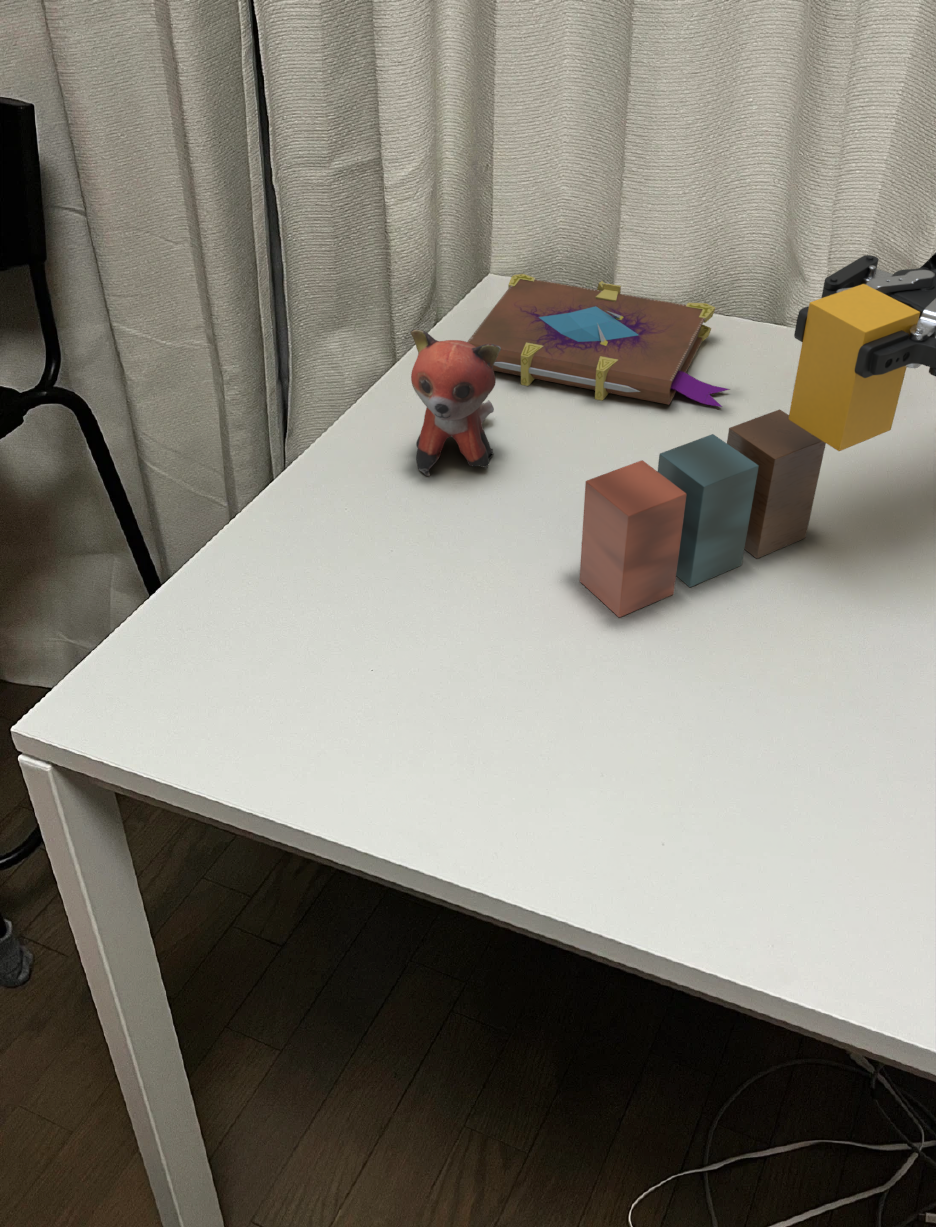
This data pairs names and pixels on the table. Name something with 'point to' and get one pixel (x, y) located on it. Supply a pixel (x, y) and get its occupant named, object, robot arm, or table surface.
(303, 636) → the table surface
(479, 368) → the stuffed fox
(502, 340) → the book
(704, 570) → the three coloured blocks
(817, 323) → the block
